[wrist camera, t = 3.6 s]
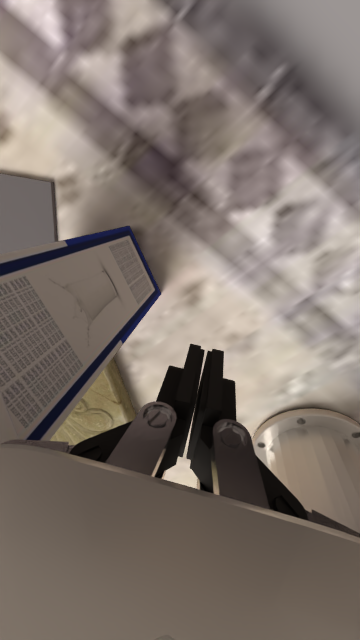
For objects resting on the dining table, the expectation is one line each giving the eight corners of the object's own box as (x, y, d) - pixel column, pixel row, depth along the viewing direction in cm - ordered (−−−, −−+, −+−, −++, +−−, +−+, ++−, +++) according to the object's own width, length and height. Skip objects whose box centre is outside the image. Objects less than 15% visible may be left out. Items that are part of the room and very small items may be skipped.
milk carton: (131, 224, 22) (-283, 312, 4) (163, 293, 24) (-23, 543, 6) (69, 255, 24) (-371, 397, 6) (103, 315, 27) (-157, 547, 9)
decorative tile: (105, 324, 28) (88, 340, 24) (154, 453, 35) (147, 478, 32) (-23, 344, 32) (-50, 360, 29) (45, 454, 40) (29, 476, 37)
